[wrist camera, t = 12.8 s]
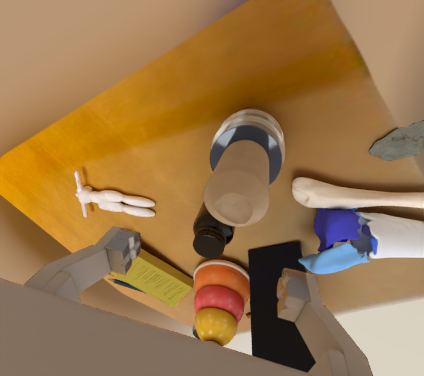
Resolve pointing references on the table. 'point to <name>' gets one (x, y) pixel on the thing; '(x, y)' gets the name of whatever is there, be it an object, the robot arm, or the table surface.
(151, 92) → the table surface
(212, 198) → the candle
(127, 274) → the flat olive board
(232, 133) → the cup stack
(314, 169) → the table surface
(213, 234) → the supplement bottle
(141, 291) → the pencil
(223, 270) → the stacking toy
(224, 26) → the table surface
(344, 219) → the blue white plush toy
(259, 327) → the decorative box
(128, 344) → the robot arm
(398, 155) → the rock
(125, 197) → the decorative figure
